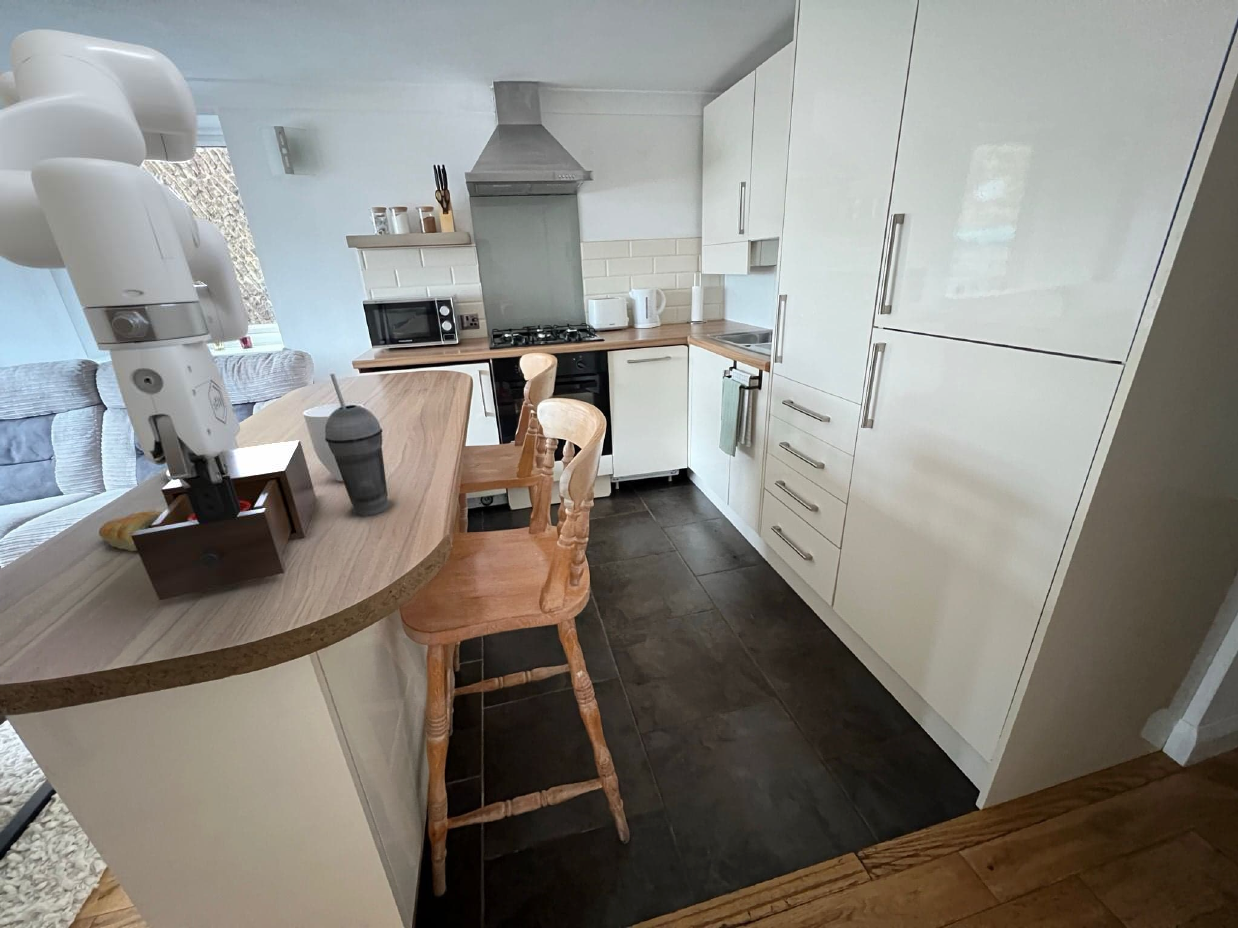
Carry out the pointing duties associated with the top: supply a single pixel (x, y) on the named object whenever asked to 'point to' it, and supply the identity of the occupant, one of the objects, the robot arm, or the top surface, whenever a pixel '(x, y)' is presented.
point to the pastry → (127, 528)
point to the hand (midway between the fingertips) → (220, 517)
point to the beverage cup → (358, 455)
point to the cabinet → (265, 465)
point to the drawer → (216, 543)
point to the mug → (323, 435)
